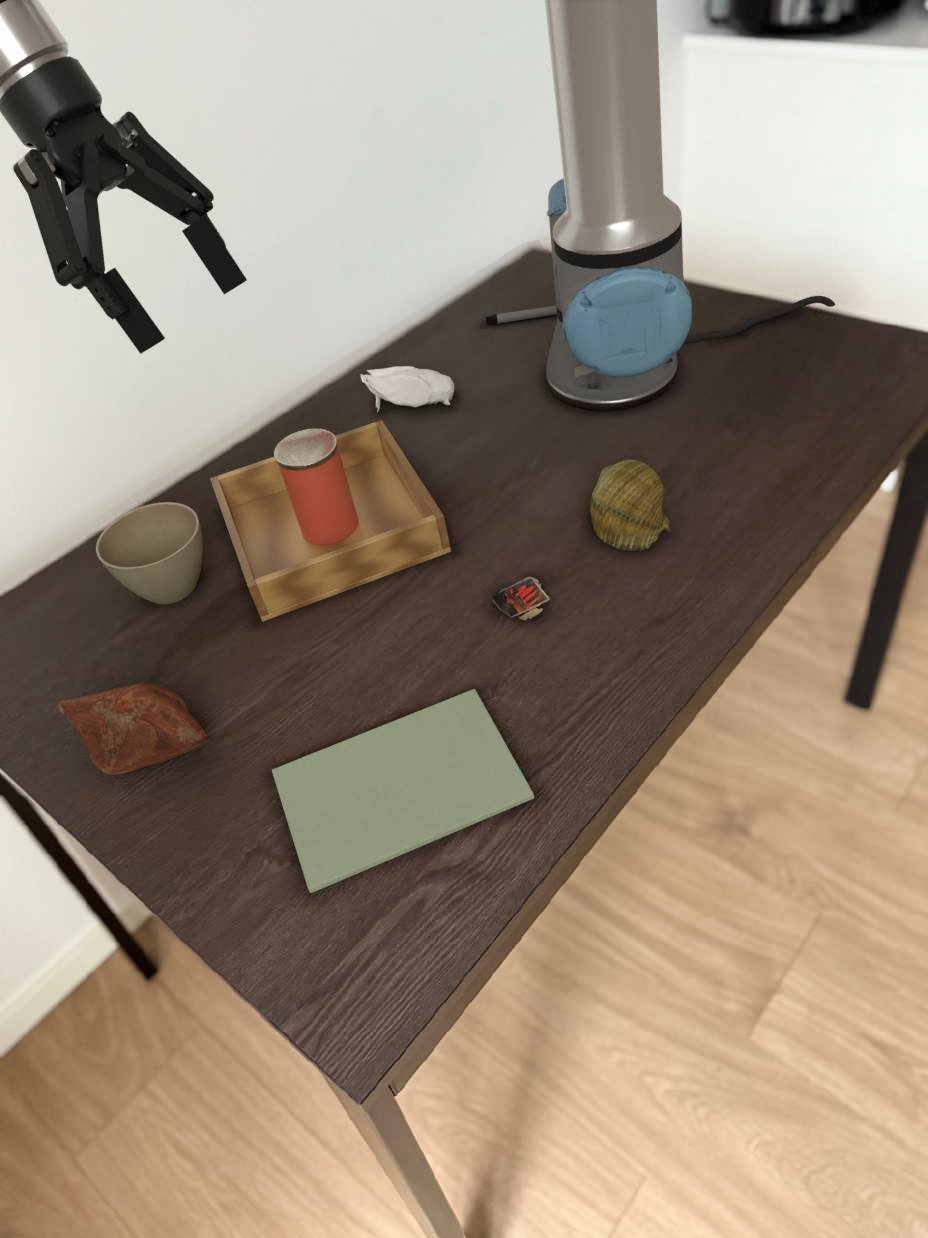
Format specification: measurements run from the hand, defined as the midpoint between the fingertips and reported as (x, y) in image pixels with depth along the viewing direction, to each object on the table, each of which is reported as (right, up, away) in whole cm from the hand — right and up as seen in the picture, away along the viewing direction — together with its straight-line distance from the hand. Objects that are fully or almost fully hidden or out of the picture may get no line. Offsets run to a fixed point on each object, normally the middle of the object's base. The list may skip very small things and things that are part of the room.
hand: (196, 315), depth 85 cm
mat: (+19, -40, -10) cm, 46 cm away
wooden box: (+10, -18, +14) cm, 25 cm away
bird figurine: (+18, -1, +30) cm, 35 cm away
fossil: (-3, -38, -3) cm, 39 cm away
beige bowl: (-6, -24, +12) cm, 27 cm away
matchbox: (+29, -26, +3) cm, 39 cm away
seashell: (+40, -18, +9) cm, 45 cm away
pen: (+35, +13, +40) cm, 55 cm away
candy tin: (+10, -17, +14) cm, 25 cm away
